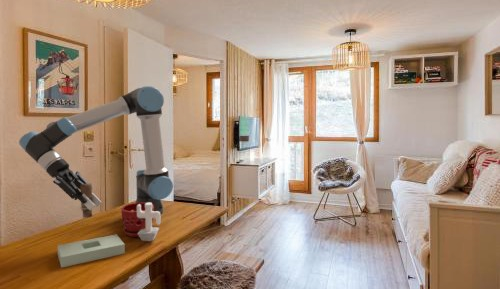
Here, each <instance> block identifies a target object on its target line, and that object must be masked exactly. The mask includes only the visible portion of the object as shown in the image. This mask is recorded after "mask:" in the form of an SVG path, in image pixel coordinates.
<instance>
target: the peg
mask: <svg viewBox="0 0 500 289" xmlns="http://www.w3.org/2000/svg"><path fill="white" fill-rule="evenodd" d="M92 185H93V184H92V183H89V182H88V183H86V184H81V185H80V189H81V190H80V189H79V190H80V192H81V193H82V194H85V195H86V196H87V197H88V198H89V199H90V200H91V201H92V192H93V189H92V187H93V186H92ZM80 205H81V206H80V210H81V211H82V218H85V219H87V218H91V217H93V209H92V210H89V209H88V208H87V207H86V206H85V205H84V204H83V203H82V202H81V201H80Z"/></svg>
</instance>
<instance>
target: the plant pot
mask: <svg viewBox="0 0 500 289" xmlns="http://www.w3.org/2000/svg"><path fill="white" fill-rule="evenodd" d="M138 204H140V205H141V210H142V211H145V204H146V203H135V202H133V203H128V204H125V205H124V206H122V207H121V210H120V211H121V220H122V224H123V226H124V228H125V229H124V230H123V231H124V234H125V235H126V236H128V237H135V238H136V237H139V236H138V234H137V233H138V232H139V231H140V230H141V229H143V228H146V219H145V218H138V217H137V210H136V209H137V205H138ZM133 210H134V211H133ZM152 211H154V206H153V204H152ZM153 222H154V218H152V223H153ZM139 238H140V237H139Z"/></svg>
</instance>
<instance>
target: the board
mask: <svg viewBox="0 0 500 289" xmlns="http://www.w3.org/2000/svg"><path fill="white" fill-rule="evenodd" d="M125 246H126V244H125V243H124V241H123V240H122V239H121V237H119V236H118V234H117V233H115V234H110V235H105V236H101V237H96V238H90V239H85V240H77V241H73V242H69V243H68V242H67V243H62V244H57V256H58V257H57V258H58V261H59V264H60V268H66V267H70V266H75V265H79V264H83V263H89V262H93V261H97V260H101V259H106V258H111V257H114V256H119V255H123V254H126V247H125Z"/></svg>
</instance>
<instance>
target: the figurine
mask: <svg viewBox="0 0 500 289" xmlns="http://www.w3.org/2000/svg"><path fill="white" fill-rule="evenodd" d="M137 217H138V218H145V219H146V228H143V229H141V230H140V231H139V232H138V233H137V234H138V236H139V238H140V240H141V242H153V241H154V240H155V239H156V237H157V235H158V232H159V230H160V226H159V225H160V224H161V220H162V218H161V214H160V212H159V211H152V203H151V202H147V203H146V204H145V211H141V205H140V204H138V205H137ZM152 218H153V219H155V220H156V221H155V223H156V225H158V226H159V227H157V226H156V227H155V226H154V227H153V222H152Z"/></svg>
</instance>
